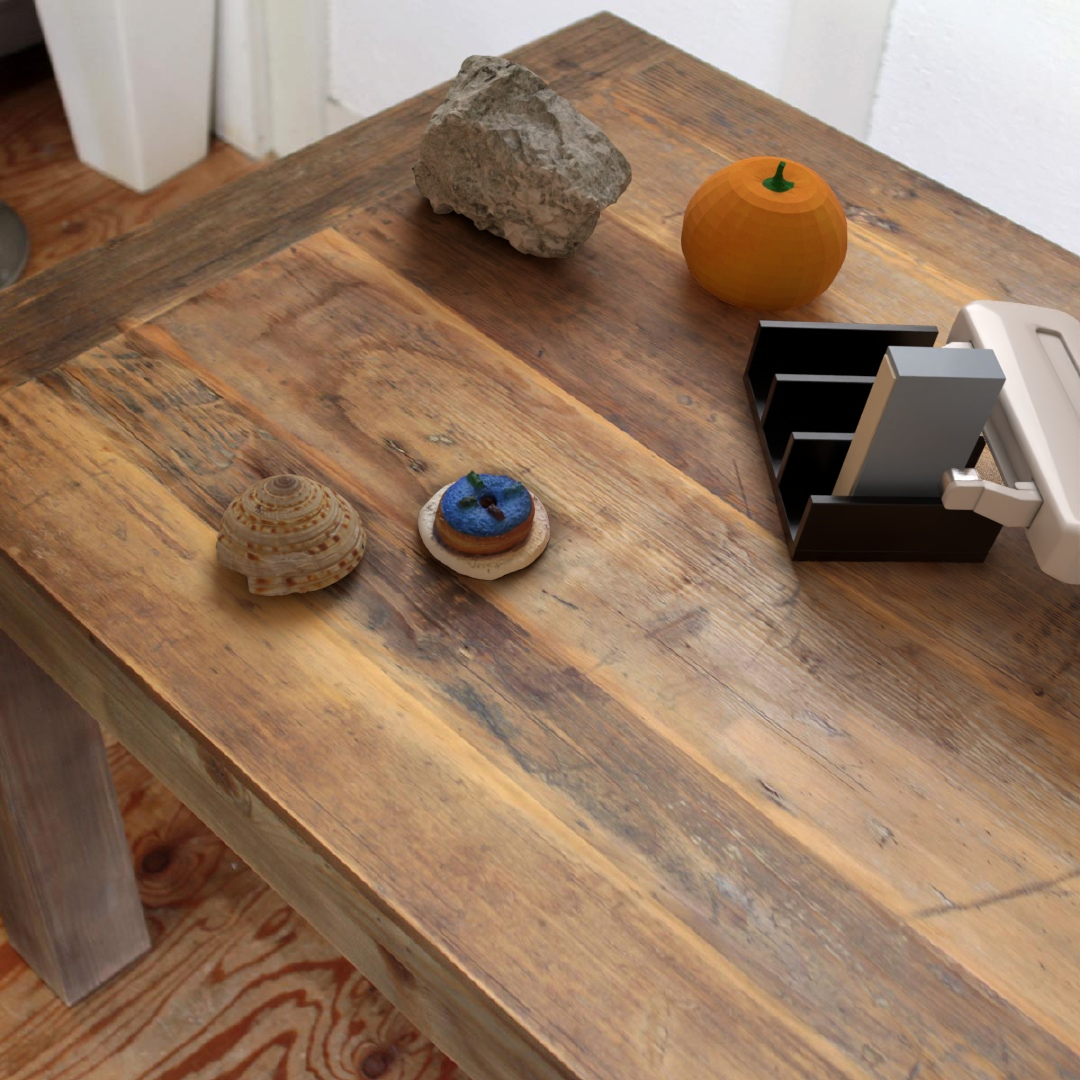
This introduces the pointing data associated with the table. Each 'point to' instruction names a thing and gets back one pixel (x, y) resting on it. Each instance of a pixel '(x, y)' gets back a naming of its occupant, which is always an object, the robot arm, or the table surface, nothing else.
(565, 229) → the stone
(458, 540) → the dessert
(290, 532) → the seashell
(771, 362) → the rack
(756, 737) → the table surface
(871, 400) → the grey rectangular block
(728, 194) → the fruit
